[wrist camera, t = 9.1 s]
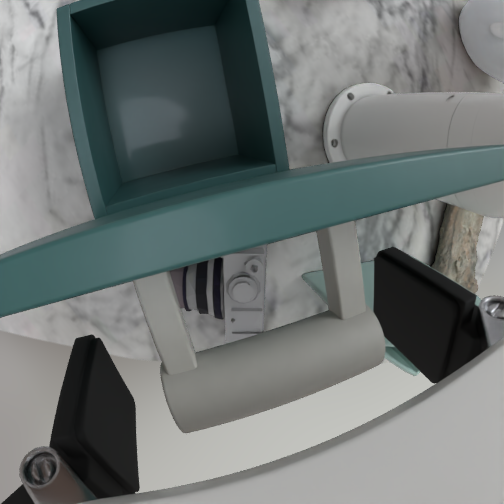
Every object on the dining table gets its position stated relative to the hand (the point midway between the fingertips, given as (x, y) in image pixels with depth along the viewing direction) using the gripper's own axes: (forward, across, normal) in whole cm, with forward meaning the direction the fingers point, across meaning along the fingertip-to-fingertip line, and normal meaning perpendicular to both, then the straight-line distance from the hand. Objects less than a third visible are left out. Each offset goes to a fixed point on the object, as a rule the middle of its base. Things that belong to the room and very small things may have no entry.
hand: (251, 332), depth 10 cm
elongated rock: (+23, -36, +14) cm, 45 cm away
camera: (+23, -1, +8) cm, 24 cm away
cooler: (+22, 0, -10) cm, 24 cm away
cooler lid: (+4, 0, -4) cm, 5 cm away
